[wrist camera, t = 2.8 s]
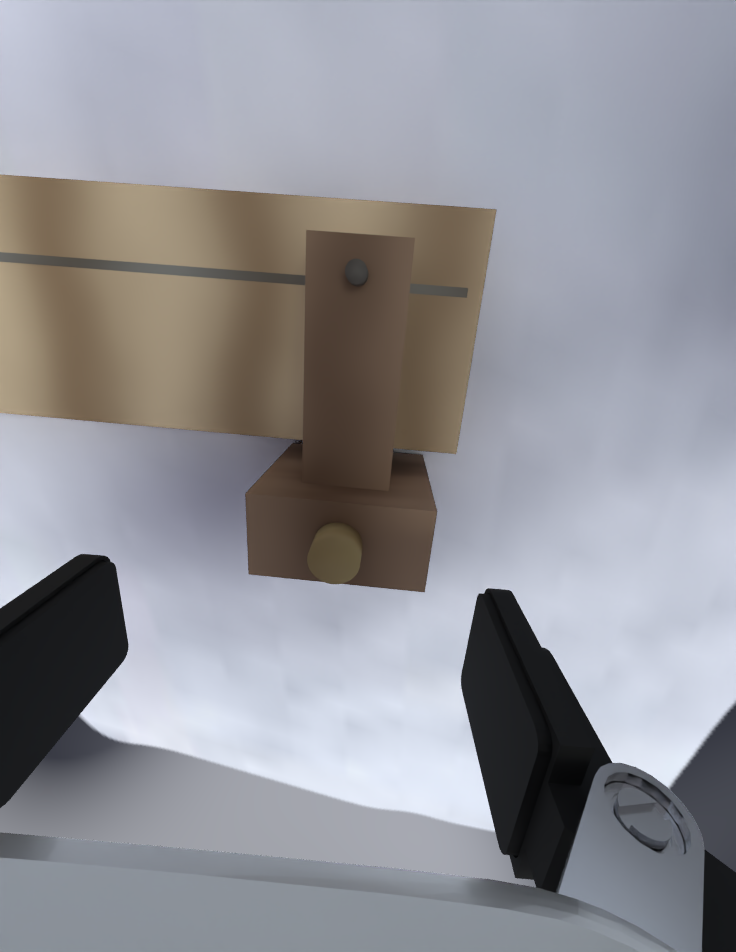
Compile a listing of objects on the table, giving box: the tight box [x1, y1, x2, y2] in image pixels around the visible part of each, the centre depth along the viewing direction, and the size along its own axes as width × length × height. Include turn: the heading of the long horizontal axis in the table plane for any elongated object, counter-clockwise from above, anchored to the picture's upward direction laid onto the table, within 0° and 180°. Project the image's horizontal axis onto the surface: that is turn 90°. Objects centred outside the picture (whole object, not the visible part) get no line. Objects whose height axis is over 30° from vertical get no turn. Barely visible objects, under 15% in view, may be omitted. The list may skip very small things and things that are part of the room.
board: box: [0, 175, 496, 454], centre depth 15 cm, size 28×8×2 cm, turn 86°
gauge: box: [245, 230, 437, 592], centre depth 13 cm, size 6×11×7 cm, turn 176°
